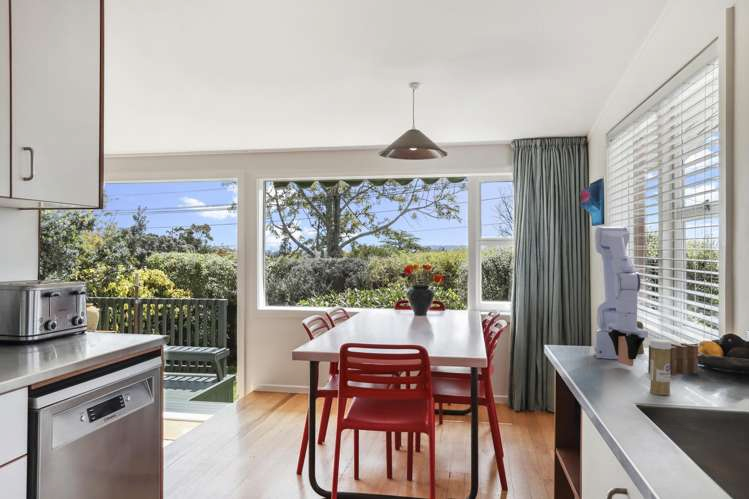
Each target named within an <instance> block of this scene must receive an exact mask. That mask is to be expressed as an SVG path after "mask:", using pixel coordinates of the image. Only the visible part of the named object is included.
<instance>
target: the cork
mask: <svg viewBox="0 0 749 499" xmlns="http://www.w3.org/2000/svg"><path fill="white" fill-rule="evenodd" d="M637 328H640V329H643V330H644V324H643V322H642V321H639V320H637ZM628 335H630V336H631V334H627V336H628ZM643 342H644V341H643ZM643 342H642V344H641V346H640V348H639V350H638V353H637V355H642V354H645V349H644V343H643Z"/></svg>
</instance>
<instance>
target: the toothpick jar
mask: <svg viewBox="0 0 749 499" xmlns="http://www.w3.org/2000/svg"><path fill="white" fill-rule="evenodd" d="M649 343H650V344H649V345H650V347H651V365H650V372H649V373H650V375H649V376H650V377H649V379H650V389H649V391H650V393H651V394H654V395H658V396H669V395H670V394H671V388H670V386H671V375H670V349H671V344H672V341H671V340H667V339H661V338H652V339H651V340H650V342H649Z"/></svg>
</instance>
